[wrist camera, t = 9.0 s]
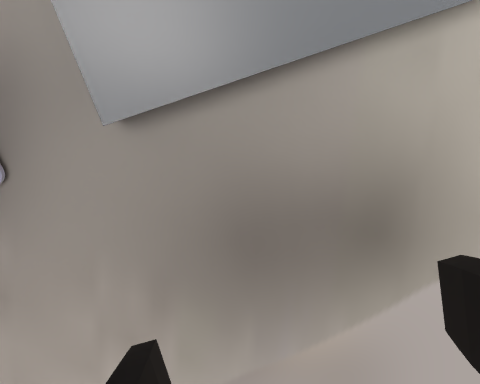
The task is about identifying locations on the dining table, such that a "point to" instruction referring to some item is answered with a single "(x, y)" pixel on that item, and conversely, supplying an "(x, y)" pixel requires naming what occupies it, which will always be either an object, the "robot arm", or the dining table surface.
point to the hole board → (209, 41)
